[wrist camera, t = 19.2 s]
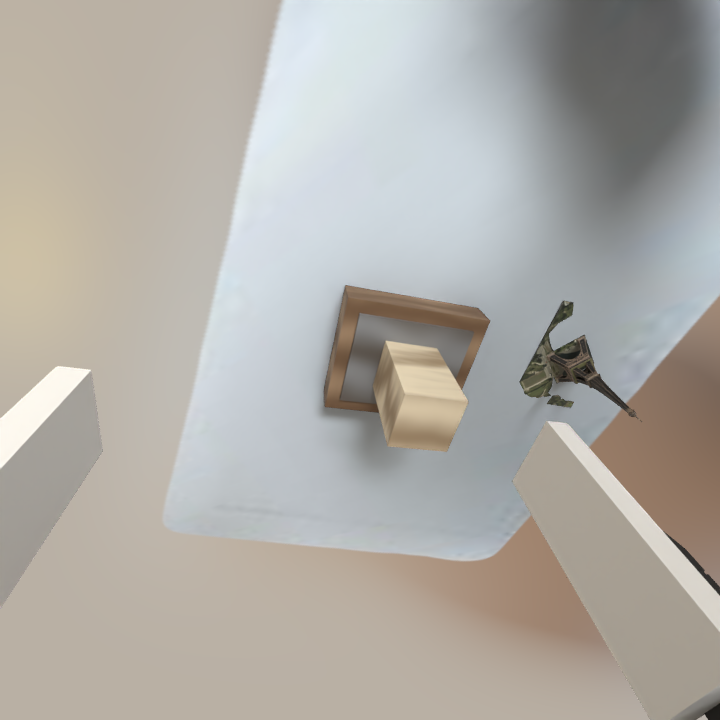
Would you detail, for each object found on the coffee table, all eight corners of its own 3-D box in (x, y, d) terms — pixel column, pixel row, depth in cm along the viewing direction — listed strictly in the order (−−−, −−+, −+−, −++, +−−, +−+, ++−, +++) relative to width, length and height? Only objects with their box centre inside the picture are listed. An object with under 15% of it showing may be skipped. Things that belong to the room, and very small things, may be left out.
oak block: (385, 340, 42) (404, 394, 33) (436, 348, 43) (468, 402, 34) (372, 386, 45) (387, 446, 36) (421, 392, 46) (446, 451, 37)
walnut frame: (345, 285, 42) (348, 298, 39) (478, 308, 46) (491, 322, 42) (323, 389, 49) (324, 408, 46) (441, 403, 52) (450, 422, 49)
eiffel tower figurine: (559, 296, 47) (641, 349, 35) (628, 311, 49) (726, 365, 37) (508, 396, 54) (562, 468, 42) (570, 405, 56) (637, 475, 44)
